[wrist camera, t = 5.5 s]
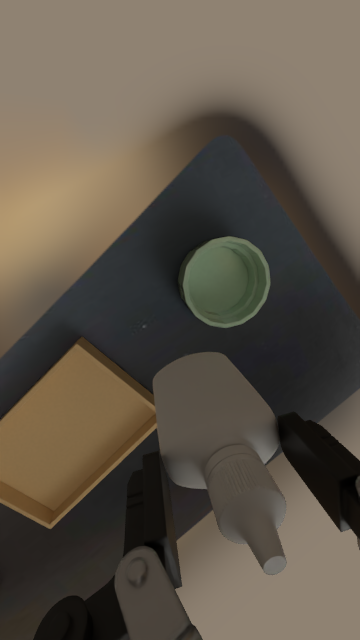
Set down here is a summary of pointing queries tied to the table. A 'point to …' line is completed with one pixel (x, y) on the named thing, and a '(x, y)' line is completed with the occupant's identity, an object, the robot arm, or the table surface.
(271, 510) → the eye dropper bottle
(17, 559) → the table surface
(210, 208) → the table surface
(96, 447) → the tray
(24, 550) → the table surface
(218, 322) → the bowl
